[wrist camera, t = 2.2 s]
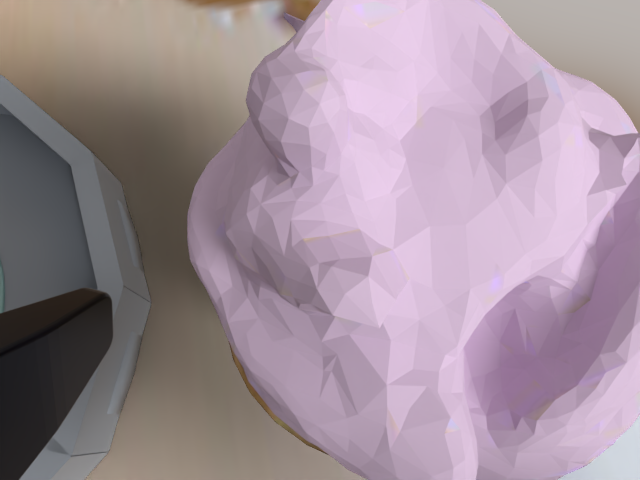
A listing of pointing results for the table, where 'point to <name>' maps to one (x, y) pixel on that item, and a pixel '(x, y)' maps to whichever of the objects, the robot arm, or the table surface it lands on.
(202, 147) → the table surface
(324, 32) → the ice cream cone
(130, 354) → the round tray
